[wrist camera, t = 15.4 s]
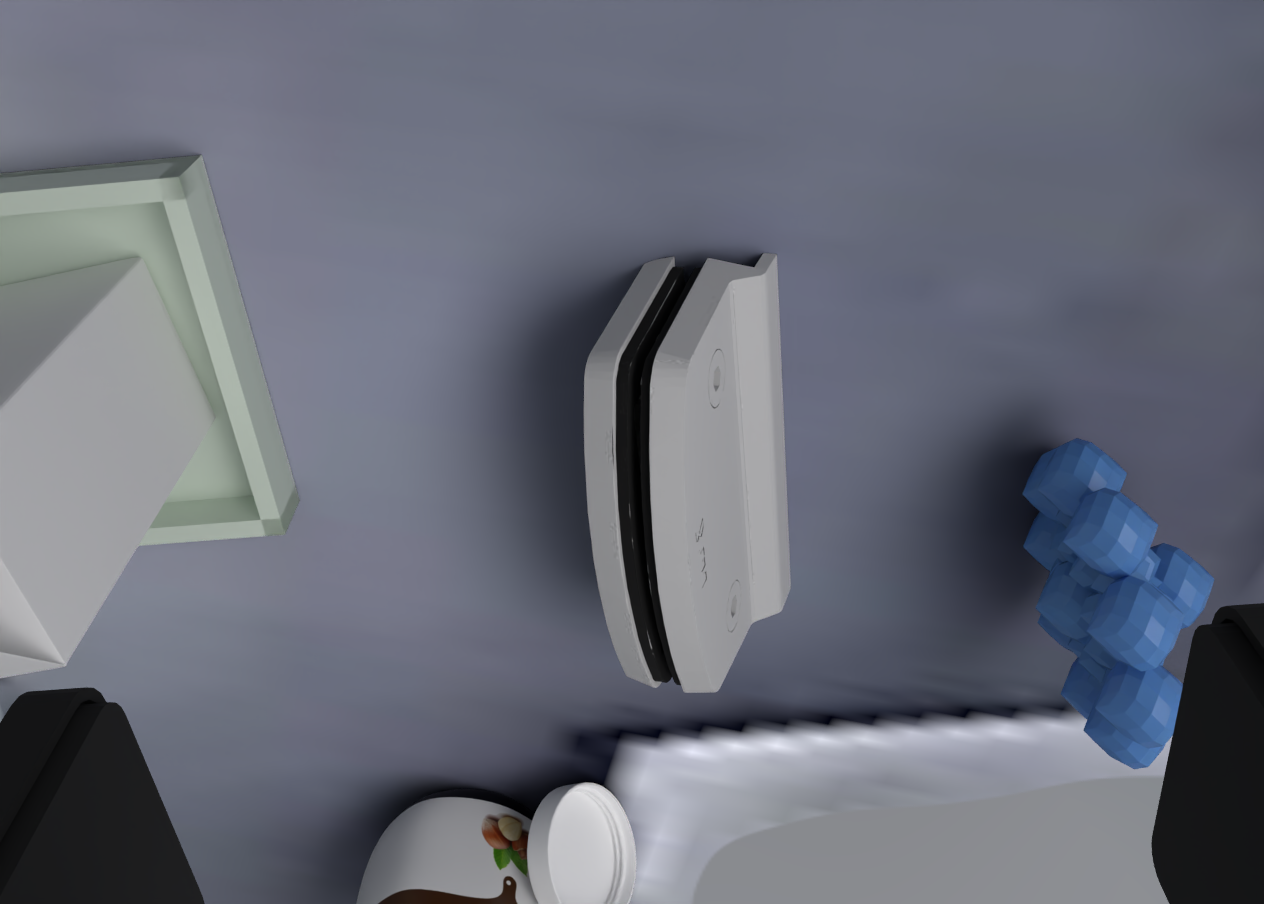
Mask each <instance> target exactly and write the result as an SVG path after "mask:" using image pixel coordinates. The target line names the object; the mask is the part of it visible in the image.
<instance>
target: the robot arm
mask: <svg viewBox="0 0 1264 904" xmlns="http://www.w3.org/2000/svg"><path fill="white" fill-rule="evenodd" d="M1152 856H1153V862H1154V867H1155V870H1156V874H1157V877H1158V879H1159V882H1160V885H1161V887H1162V889H1163V891H1164V893H1165V895H1166V897H1167V900H1168V902H1169V903H1170V904H1264V603H1261V604H1247V605H1233V606H1225V607H1221V608H1220V609H1219V610H1218V611H1217V612H1216V613H1215V616H1214V619H1213V621H1212V624H1209V625H1201V626H1199V627H1198V628H1197V629H1196V630H1195V633H1194V636H1193V639H1192V644H1191V648H1190V653H1189V658H1188V663H1187V668H1186V673H1185V678H1184V683H1183V688H1182V693H1181V698H1180V702H1179V707H1178V712H1177V717H1176V722H1175V727H1174V732H1173V737H1172V742H1171V747H1170V751H1169V756H1168V761H1167V766H1166V771H1165V776H1164V781H1163V786H1162V791H1161V796H1160V800H1159V805H1158V810H1157V815H1156V820H1155V825H1154V830H1153V835H1152ZM0 904H204V900H203V897H202V894H201V892H200V889H199V887H198V885H197V882H196V880H195V877H194V875H193V873H192V870H191V868H190V866H189V863H188V861H187V859H186V856H185V854H184V852H183V849H182V847H181V844H180V842H179V840H178V837H177V835H176V833H175V830H174V828H173V826H172V823H171V821H170V818H169V816H168V814H167V811H166V809H165V807H164V804H163V802H162V800H161V797H160V795H159V793H158V790H157V788H156V785H155V783H154V781H153V778H152V776H151V774H150V771H149V769H148V767H147V764H146V762H145V759H144V757H143V755H142V752H141V750H140V748H139V745H138V743H137V741H136V738H135V736H134V734H133V731H132V729H131V726H130V724H129V722H128V719H127V717H126V715H125V713H124V711H123V709H122V708H121V706H119V705H118V704H117V703H112V702H109V703H107V702H106V701H105V699H104V697H103V696H102V694H101V693H100V692H99V691H97V690H96V689H95V688H73V689H59V690H45V691H31V692H26V693H24V694H22V695H20V696H19V697H18V698H17V699H16V701H15V702H14V703H13V704H12V705H11V707H10V708H9V710H8V712H7V713H6V715H5V716H4V718H3V719H2V721H1V723H0Z"/></svg>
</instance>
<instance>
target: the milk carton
mask: <svg viewBox="0 0 1264 904" xmlns="http://www.w3.org/2000/svg"><path fill="white" fill-rule="evenodd" d="M215 418H216V416H215V414H214V412H213V410H212V407H211V405H210V403H209V401H208V399H207V397H206V394H205V392H204V390H203V388H202V386H201V384H200V381H199V379H198V377H197V375H196V373H195V371H194V368H193V366H192V364H191V362H190V360H189V358H188V355H187V353H186V351H185V349H184V347H183V345H182V342H181V340H180V338H179V336H178V334H177V332H176V329H175V327H174V325H173V323H172V321H171V319H170V316H169V314H168V312H167V310H166V308H165V306H164V303H163V301H162V299H161V297H160V295H159V293H158V290H157V288H156V286H155V284H154V282H153V280H152V277H151V275H150V273H149V271H148V269H147V267H146V264H145V262H144V260H143V259H142V258H141V257H135V258H129V259H124V260H119V261H115V262H110V263H105V264H101V265H96V266H92V267H87V268H82V269H78V270H73V271H68V272H64V273H59V274H55V275H50V276H45V277H41V278H36V279H32V280H27V281H22V282H18V283H13V284H8V285H4V286H0V678H4V677H10V676H15V675H21V674H27V673H32V672H38V671H43V670H49V669H54V668H59V667H64V666H67V665H66V664H67V662H68V661H69V659H70V657H71V656H72V654H73V652H74V651H75V649H76V647H77V646H78V644H79V643H80V641H81V639H82V638H83V636H84V634H85V633H86V631H87V629H88V628H89V626H90V624H91V623H92V621H93V620H94V618H95V616H96V615H97V613H98V611H99V610H100V608H101V606H102V605H103V603H104V601H105V600H106V598H107V597H108V595H109V593H110V592H111V590H112V588H113V587H114V585H115V583H116V582H117V580H118V578H119V577H120V575H121V573H122V572H123V570H124V569H125V567H126V565H127V564H128V562H129V560H130V559H131V557H132V555H133V554H134V552H135V550H136V549H137V547H138V546H139V544H140V542H141V541H142V539H143V537H144V536H145V534H146V532H147V531H148V529H149V527H150V526H151V524H152V523H153V521H154V519H155V518H156V516H157V514H158V513H159V511H160V509H161V508H162V506H163V504H164V503H165V501H166V500H167V498H168V496H169V495H170V493H171V491H172V490H173V488H174V486H175V485H176V483H177V481H178V480H179V478H180V476H181V475H182V473H183V472H184V470H185V468H186V467H187V465H188V463H189V462H190V460H191V458H192V457H193V455H194V453H195V452H196V450H197V449H198V447H199V445H200V444H201V442H202V440H203V439H204V437H205V435H206V434H207V432H208V430H209V429H210V427H211V426H212V424H213V422H214V421H215Z"/></svg>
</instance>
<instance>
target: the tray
mask: <svg viewBox="0 0 1264 904" xmlns="http://www.w3.org/2000/svg"><path fill="white" fill-rule="evenodd" d="M135 257H141V258H142V259H143V260H144V262H145V264H146V267H147V269H148V271H149V273H150V275H151V277H152V280H153V282H154V284H155V286H156V288H157V290H158V293H159V295H160V297H161V299H162V301H163V303H164V306H165V308H166V310H167V312H168V314H169V316H170V319H171V321H172V323H173V325H174V327H175V329H176V332H177V334H178V336H179V338H180V340H181V342H182V345H183V347H184V349H185V351H186V353H187V355H188V358H189V360H190V362H191V364H192V366H193V368H194V371H195V373H196V375H197V377H198V379H199V381H200V384H201V386H202V388H203V390H204V392H205V394H206V397H207V399H208V401H209V403H210V405H211V407H212V410H213V412H214V414H215V416H216V418H215V421H214V422H213V424H212V426H211V427H210V429H209V430H208V432H207V434H206V435H205V437H204V439H203V440H202V442H201V444H200V445H199V447H198V449H197V450H196V452H195V453H194V455H193V457H192V458H191V460H190V462H189V463H188V465H187V467H186V468H185V470H184V472H183V473H182V475H181V476H180V478H179V480H178V481H177V483H176V485H175V486H174V488H173V490H172V491H171V493H170V495H169V496H168V498H167V500H166V501H165V503H164V504H163V506H162V508H161V509H160V511H159V513H158V514H157V516H156V518H155V519H154V521H153V523H152V524H151V526H150V527H149V529H148V531H147V532H146V534H145V536H144V537H143V539H142V541H141V542H140V544H139V546H142V545H155V544H168V543H181V542H194V541H207V540H221V539H234V538H247V537H260V536H273V535H285V533H286V531H287V529H288V526H289V524H290V522H291V520H292V517H293V515H294V513H295V510H296V508H297V506H298V503H299V501H300V500H299V497H298V493H297V490H296V486H295V483H294V479H293V476H292V472H291V468H290V465H289V461H288V458H287V454H286V451H285V447H284V444H283V440H282V437H281V433H280V430H279V426H278V423H277V419H276V416H275V412H274V409H273V405H272V402H271V398H270V394H269V391H268V387H267V384H266V380H265V377H264V373H263V370H262V366H261V363H260V359H259V356H258V352H257V349H256V345H255V342H254V338H253V335H252V331H251V327H250V324H249V320H248V317H247V313H246V310H245V306H244V303H243V299H242V296H241V292H240V289H239V285H238V282H237V278H236V275H235V271H234V268H233V264H232V260H231V257H230V253H229V250H228V246H227V243H226V239H225V236H224V232H223V229H222V225H221V222H220V218H219V215H218V211H217V208H216V204H215V201H214V197H213V193H212V190H211V186H210V183H209V179H208V176H207V172H206V169H205V165H204V162H203V158H202V155H196V156H185V157H174V158H163V159H153V160H142V161H131V162H120V163H109V164H98V165H87V166H76V167H65V168H54V169H43V170H32V171H21V172H10V173H0V286H4V285H8V284H13V283H18V282H22V281H27V280H32V279H36V278H41V277H45V276H50V275H55V274H59V273H64V272H68V271H73V270H78V269H82V268H87V267H92V266H96V265H101V264H105V263H110V262H115V261H119V260H124V259H129V258H135Z"/></svg>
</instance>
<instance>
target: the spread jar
mask: <svg viewBox="0 0 1264 904" xmlns="http://www.w3.org/2000/svg"><path fill="white" fill-rule="evenodd" d="M635 877H636V849H635V842H634V837H633V832H632V829H631V826H630V823H629V820H628V818H627V816H626V813H625V811H624V809H623V808H622V806H621V804H620V803H619V801H618V800H617V799H616V797H615V796H614V795H613V794H612V793H611V792H610V791H609V790H607V789H606V788H604V787H603V786H601V785H598V784H595V783H588V782H584V783H578V784H571V785H565V786H562V787H558V788H556V789H554V790H553V791H551V792H550V793H548V795H547V796H546V797H545V798H544V799H543V800H542V801H541V803H540V805H539V806H538V808H537V810H536V812H535V814H534V813H533V812H532V811H530V810H529V809H528V808H526V807H525V806H524V805H522V804H521V803H519V802H517V801H515V800H513V799H511V798H509V797H507V796H504V795H501V794H498V793H495V792H490V791H486V790H478V789H455V790H447V791H441V792H437V793H434V794H431V795H429V796H426V797H424V798H422V799H420V800H418V801H416V802H415V803H413V804H412V805H410V806H409V807H408V808H406V809H405V810H404V811H403V812H402V813H400V814H399V815H398V816H397V817H396V818H395V820H393V822H392V823H391V824H390V825H389V826H388V827H387V828H386V830H385V831H384V833H383V834H382V836H381V837H380V839H379V841H378V843H377V844H376V846H375V848H374V850H373V852H372V854H371V857H370V859H369V862H368V864H367V867H366V870H365V872H364V876H363V879H362V883H361V886H360V890H359V894H358V898H357V903H356V904H629V902H630V899H631V896H632V893H633V889H634V884H635Z"/></svg>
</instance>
